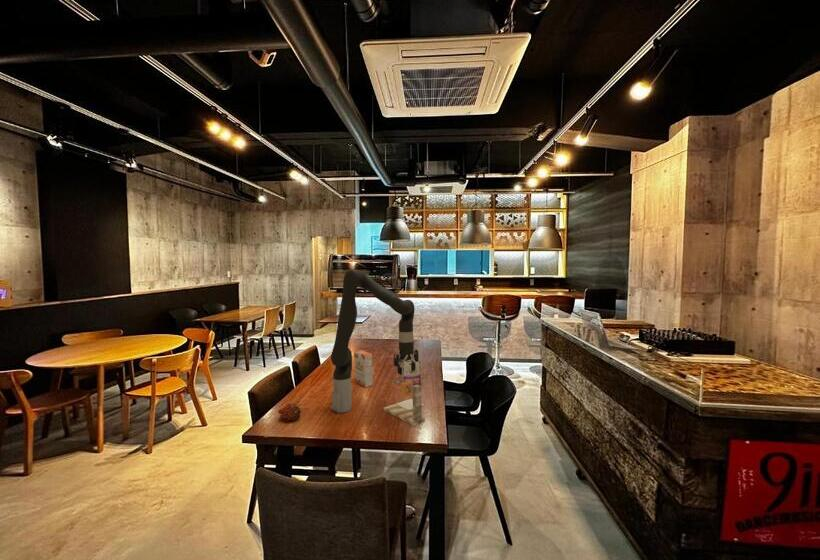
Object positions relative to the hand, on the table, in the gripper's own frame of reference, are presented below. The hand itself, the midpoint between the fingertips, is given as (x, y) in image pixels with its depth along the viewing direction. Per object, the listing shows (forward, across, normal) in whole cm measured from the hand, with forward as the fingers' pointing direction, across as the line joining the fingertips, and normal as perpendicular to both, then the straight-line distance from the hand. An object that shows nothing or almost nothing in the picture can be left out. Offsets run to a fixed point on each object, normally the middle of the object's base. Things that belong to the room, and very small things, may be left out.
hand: (406, 372), depth 171 cm
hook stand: (+23, 0, -3) cm, 23 cm away
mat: (+23, -11, -11) cm, 28 cm away
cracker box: (+23, -11, -57) cm, 62 cm away
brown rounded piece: (+23, +45, -38) cm, 63 cm away
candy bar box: (+23, -33, -35) cm, 53 cm away
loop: (+11, 0, 0) cm, 11 cm away
